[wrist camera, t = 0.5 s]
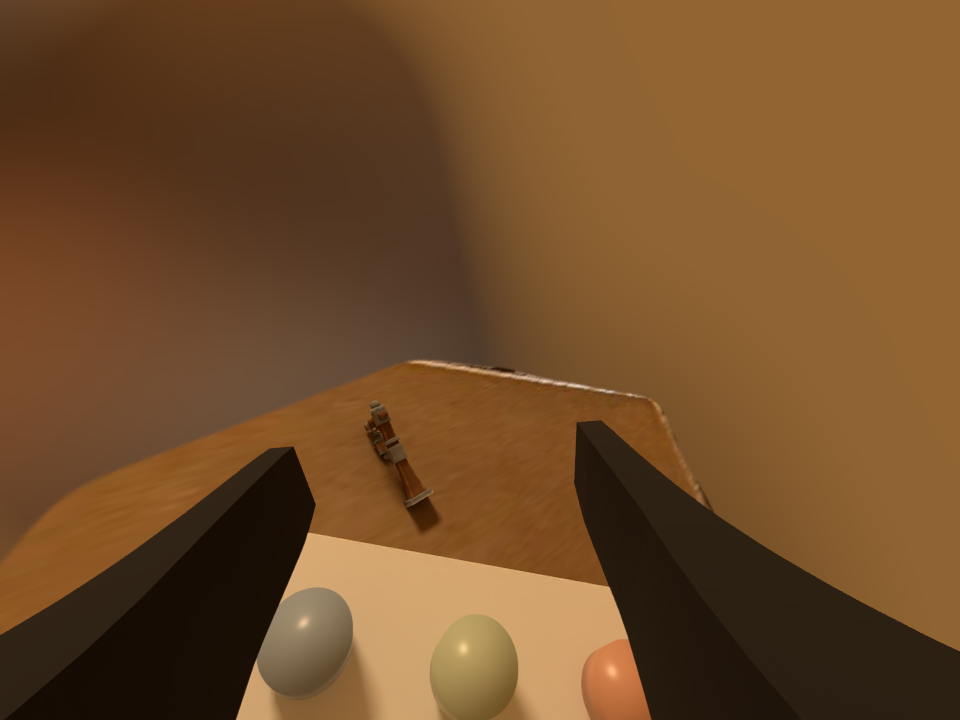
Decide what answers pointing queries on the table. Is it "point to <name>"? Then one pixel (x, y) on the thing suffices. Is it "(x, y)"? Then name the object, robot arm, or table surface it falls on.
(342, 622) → the slate button
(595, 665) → the orange rounded dome
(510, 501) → the table surface
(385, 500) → the table surface
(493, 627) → the sage button
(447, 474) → the table surface
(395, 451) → the wooden post with brackets
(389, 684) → the button panel
